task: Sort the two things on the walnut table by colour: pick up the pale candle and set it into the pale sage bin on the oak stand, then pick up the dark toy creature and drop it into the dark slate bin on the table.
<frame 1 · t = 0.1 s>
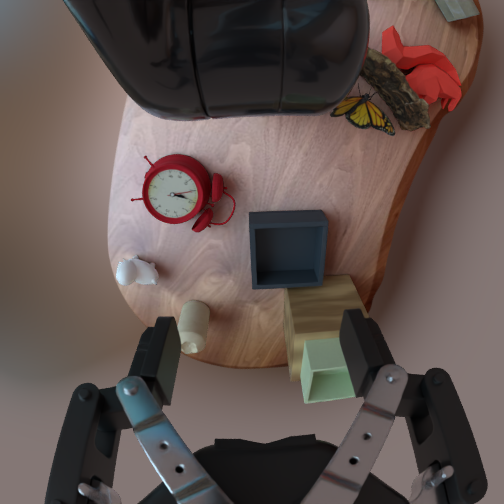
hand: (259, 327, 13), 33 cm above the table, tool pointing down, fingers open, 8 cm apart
butterfly: (358, 93, 35), point 2 cm above the table
toy creature: (142, 263, 51), on the table
padlock: (465, 18, 26), point 2 cm above the table
dark bin: (285, 243, 49), on the table
fossil: (379, 82, 36), on the table
animal figurine: (410, 70, 34), on the table
stand: (315, 301, 55), on the table
pale bin: (330, 356, 43), resting on stand
alarm clock: (188, 189, 44), on the table
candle: (196, 310, 56), on the table
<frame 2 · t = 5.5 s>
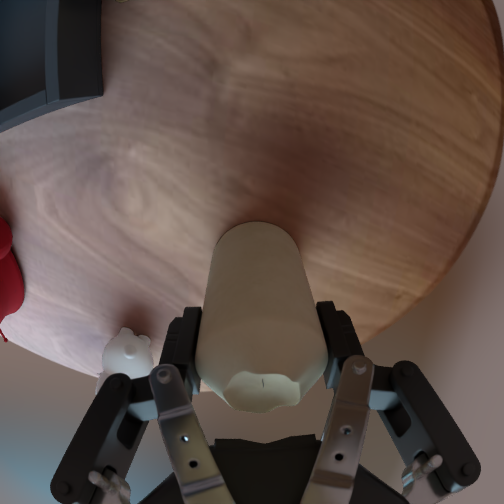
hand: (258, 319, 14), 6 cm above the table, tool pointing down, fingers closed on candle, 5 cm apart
toy creature: (132, 346, 23), on the table
dark bin: (29, 41, 10), on the table
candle: (255, 258, 19), on the table, touching gripper
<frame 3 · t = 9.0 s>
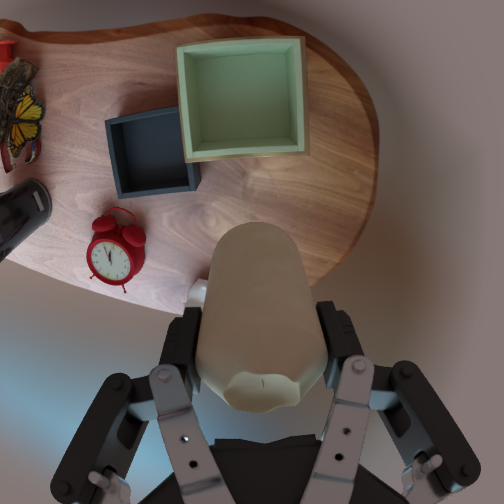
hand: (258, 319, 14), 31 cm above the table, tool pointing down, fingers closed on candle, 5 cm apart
butterfly: (19, 121, 33), point 2 cm above the table
toy creature: (200, 289, 52), on the table
dark bin: (158, 147, 39), on the table
fossil: (15, 101, 33), on the table
animal figurine: (4, 78, 30), on the table
stand: (244, 97, 36), on the table
pale bin: (243, 96, 24), resting on stand
alarm clock: (120, 242, 47), on the table
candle: (255, 258, 19), point 26 cm above the table, touching gripper
when the fingers open (20 cm above the table, at t = 13.0 s): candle stays where it is, resting on pale bin.
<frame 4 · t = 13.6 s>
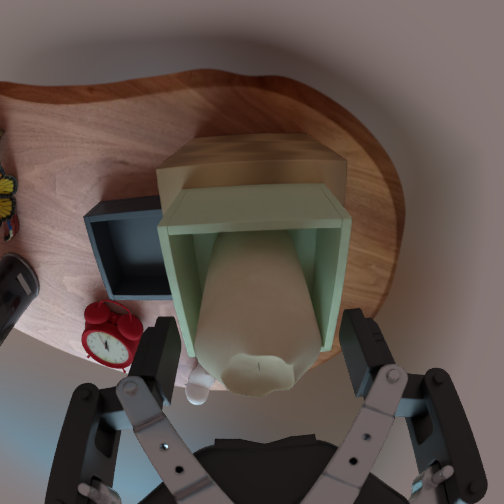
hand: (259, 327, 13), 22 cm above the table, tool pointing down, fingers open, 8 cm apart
toy creature: (202, 369, 48), on the table
dark bin: (149, 240, 35), on the table
stand: (252, 187, 32), on the table
pale bin: (255, 248, 20), resting on stand
alarm clock: (115, 325, 43), on the table
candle: (253, 252, 20), point 14 cm above the table, touching pale bin
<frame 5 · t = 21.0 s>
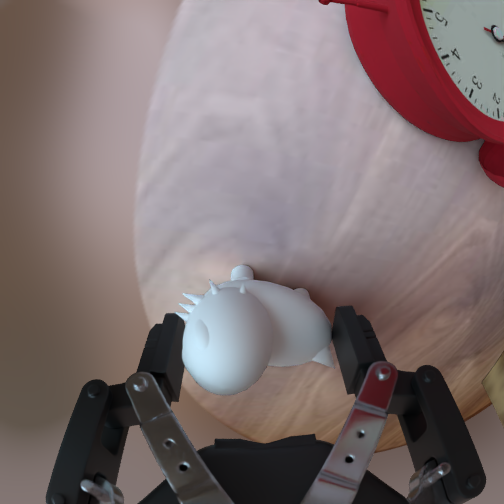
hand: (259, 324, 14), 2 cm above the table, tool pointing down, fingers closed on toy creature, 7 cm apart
toy creature: (260, 293, 16), on the table, touching gripper
alarm clock: (463, 59, 9), on the table
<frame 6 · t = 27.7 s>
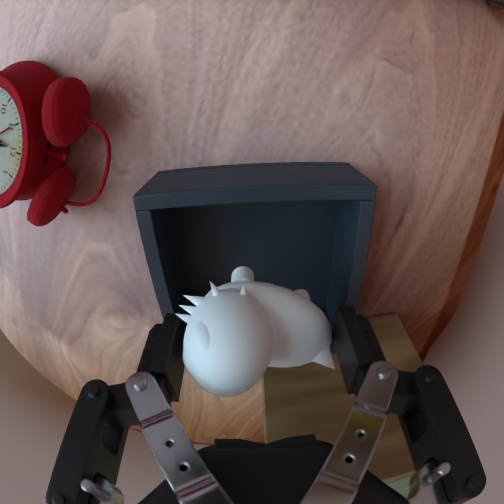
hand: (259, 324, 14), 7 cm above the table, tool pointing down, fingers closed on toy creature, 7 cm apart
toy creature: (260, 294, 16), point 5 cm above the table, touching gripper
dark bin: (256, 249, 20), on the table
stand: (324, 364, 26), on the table
pale bin: (351, 500, 14), resting on stand
alarm clock: (36, 134, 15), on the table
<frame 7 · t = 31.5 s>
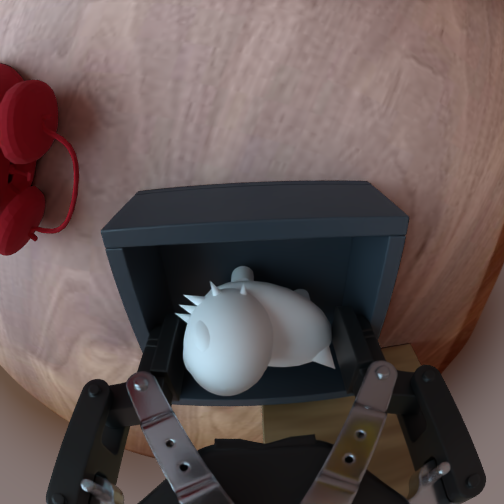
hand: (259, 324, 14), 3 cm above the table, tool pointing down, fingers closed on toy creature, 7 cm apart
toy creature: (260, 294, 16), point 1 cm above the table, touching gripper
dark bin: (257, 282, 17), on the table
stand: (329, 395, 23), on the table
alarm clock: (4, 146, 12), on the table
when the fingers open (4 cm above the table, at t = 34.5 s): toy creature drops 1 cm, resting on dark bin.
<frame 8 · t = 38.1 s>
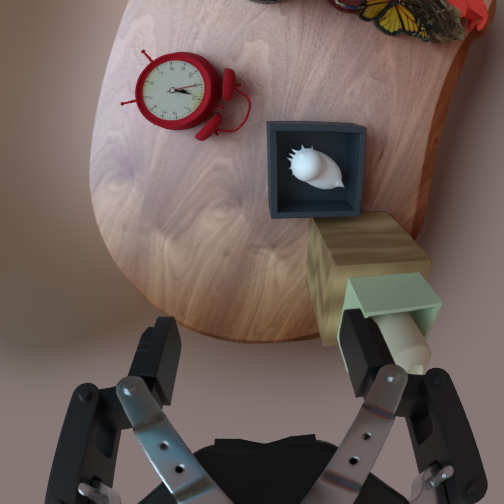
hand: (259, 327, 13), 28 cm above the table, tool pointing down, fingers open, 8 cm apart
toy creature: (311, 163, 37), resting on dark bin
dark bin: (311, 164, 37), on the table
stand: (345, 248, 44), on the table
pale bin: (377, 306, 32), resting on stand
alarm clock: (191, 94, 33), on the table
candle: (379, 308, 31), point 14 cm above the table, touching pale bin
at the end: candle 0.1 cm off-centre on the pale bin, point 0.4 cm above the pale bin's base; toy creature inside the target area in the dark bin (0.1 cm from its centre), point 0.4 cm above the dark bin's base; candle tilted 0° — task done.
